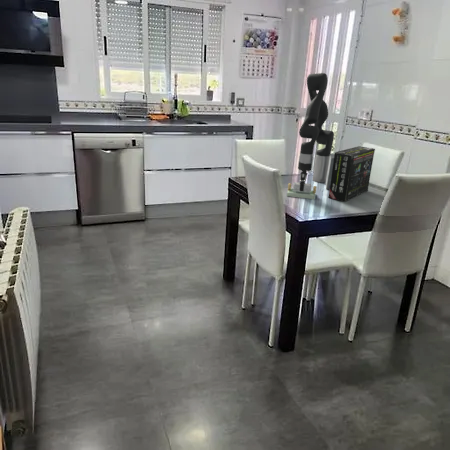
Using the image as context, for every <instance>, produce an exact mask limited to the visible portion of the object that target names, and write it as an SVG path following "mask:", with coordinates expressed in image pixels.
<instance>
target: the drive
mask: <svg viewBox="0 0 450 450" xmlns="http://www.w3.org/2000/svg"><path fill="white" fill-rule="evenodd" d="M292 188H293V193H301V194H310V193H311V191H312V183H308V182H305V184H304V191H300V182H297V181H294V182H293V185H292Z"/></svg>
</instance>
